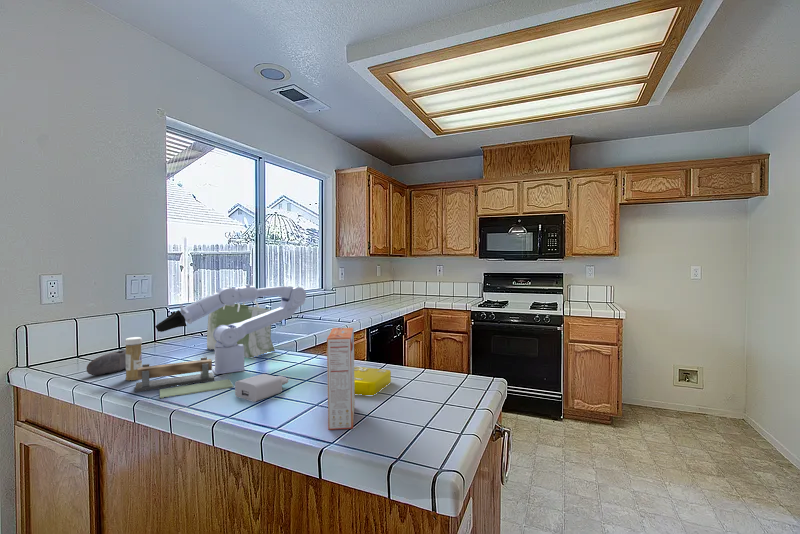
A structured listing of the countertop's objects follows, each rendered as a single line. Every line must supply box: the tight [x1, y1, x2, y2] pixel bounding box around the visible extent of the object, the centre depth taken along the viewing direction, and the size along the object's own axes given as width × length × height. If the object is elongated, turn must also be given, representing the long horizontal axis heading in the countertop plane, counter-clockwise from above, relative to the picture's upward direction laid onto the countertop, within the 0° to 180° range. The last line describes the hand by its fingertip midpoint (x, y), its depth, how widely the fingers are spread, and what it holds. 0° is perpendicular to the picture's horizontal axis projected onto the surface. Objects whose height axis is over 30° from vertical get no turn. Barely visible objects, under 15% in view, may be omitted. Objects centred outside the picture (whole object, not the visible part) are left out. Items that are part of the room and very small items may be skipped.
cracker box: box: [326, 327, 356, 431], centre depth 93 cm, size 14×6×21 cm, turn 5°
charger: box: [234, 373, 291, 403], centre depth 113 cm, size 5×9×15 cm
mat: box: [159, 379, 234, 399], centre depth 115 cm, size 19×8×1 cm, turn 123°
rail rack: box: [134, 356, 215, 393], centre depth 121 cm, size 21×7×6 cm, turn 123°
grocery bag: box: [206, 300, 276, 358], centre depth 168 cm, size 32×14×23 cm, turn 57°
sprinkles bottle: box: [124, 336, 143, 382], centre depth 126 cm, size 5×5×14 cm
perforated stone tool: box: [86, 349, 126, 376], centre depth 134 cm, size 15×5×7 cm, turn 155°
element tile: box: [354, 365, 392, 395], centre depth 117 cm, size 15×15×5 cm
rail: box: [137, 358, 213, 381], centre depth 121 cm, size 20×3×3 cm, turn 123°
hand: (157, 329), depth 122 cm, fingers open, 7 cm apart
